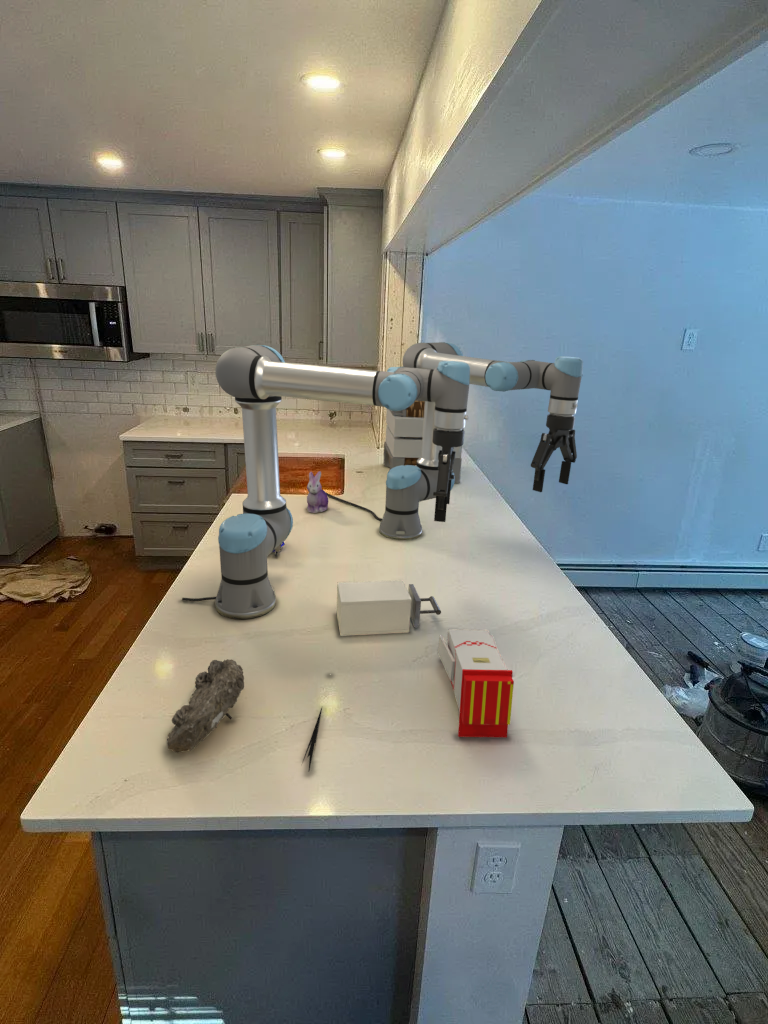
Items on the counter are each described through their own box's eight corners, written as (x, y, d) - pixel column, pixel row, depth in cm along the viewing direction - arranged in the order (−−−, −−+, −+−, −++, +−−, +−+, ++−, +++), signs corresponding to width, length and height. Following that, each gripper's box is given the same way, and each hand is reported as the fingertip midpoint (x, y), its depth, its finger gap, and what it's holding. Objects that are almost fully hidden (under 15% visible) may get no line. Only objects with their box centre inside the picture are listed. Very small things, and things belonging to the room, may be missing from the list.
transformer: (382, 463, 289) (386, 382, 275) (445, 464, 293) (451, 384, 279) (390, 482, 257) (394, 392, 243) (460, 483, 261) (468, 394, 247)
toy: (488, 613, 130) (523, 677, 101) (484, 667, 133) (517, 744, 104) (435, 612, 130) (455, 676, 101) (432, 666, 133) (451, 743, 103)
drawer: (432, 608, 149) (434, 583, 147) (441, 626, 141) (443, 600, 138) (351, 611, 146) (352, 586, 143) (355, 630, 137) (356, 603, 135)
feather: (331, 679, 122) (336, 673, 122) (307, 777, 96) (313, 769, 95) (324, 675, 122) (329, 669, 121) (298, 772, 95) (304, 764, 95)
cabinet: (401, 611, 149) (403, 579, 146) (409, 632, 139) (411, 599, 136) (336, 614, 146) (337, 582, 143) (340, 636, 136) (341, 602, 133)
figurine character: (281, 562, 176) (288, 539, 190) (280, 541, 173) (287, 519, 186) (259, 562, 176) (268, 538, 190) (258, 541, 173) (267, 518, 186)
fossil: (192, 660, 117) (244, 628, 112) (224, 691, 120) (276, 661, 115) (142, 746, 98) (202, 712, 93) (182, 779, 101) (242, 748, 96)
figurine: (310, 515, 213) (310, 476, 208) (301, 506, 222) (301, 469, 217) (333, 512, 218) (334, 474, 213) (323, 503, 226) (324, 467, 221)
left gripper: (462, 440, 123) (453, 531, 130) (467, 420, 146) (459, 498, 154) (428, 437, 124) (421, 527, 132) (438, 418, 147) (432, 495, 155)
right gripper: (548, 420, 147) (537, 498, 155) (596, 412, 163) (584, 483, 171) (524, 416, 153) (514, 491, 160) (573, 408, 168) (562, 477, 176)
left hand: (442, 512), depth 143 cm, fingers open, 13 cm apart
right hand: (550, 487), depth 165 cm, fingers open, 13 cm apart
